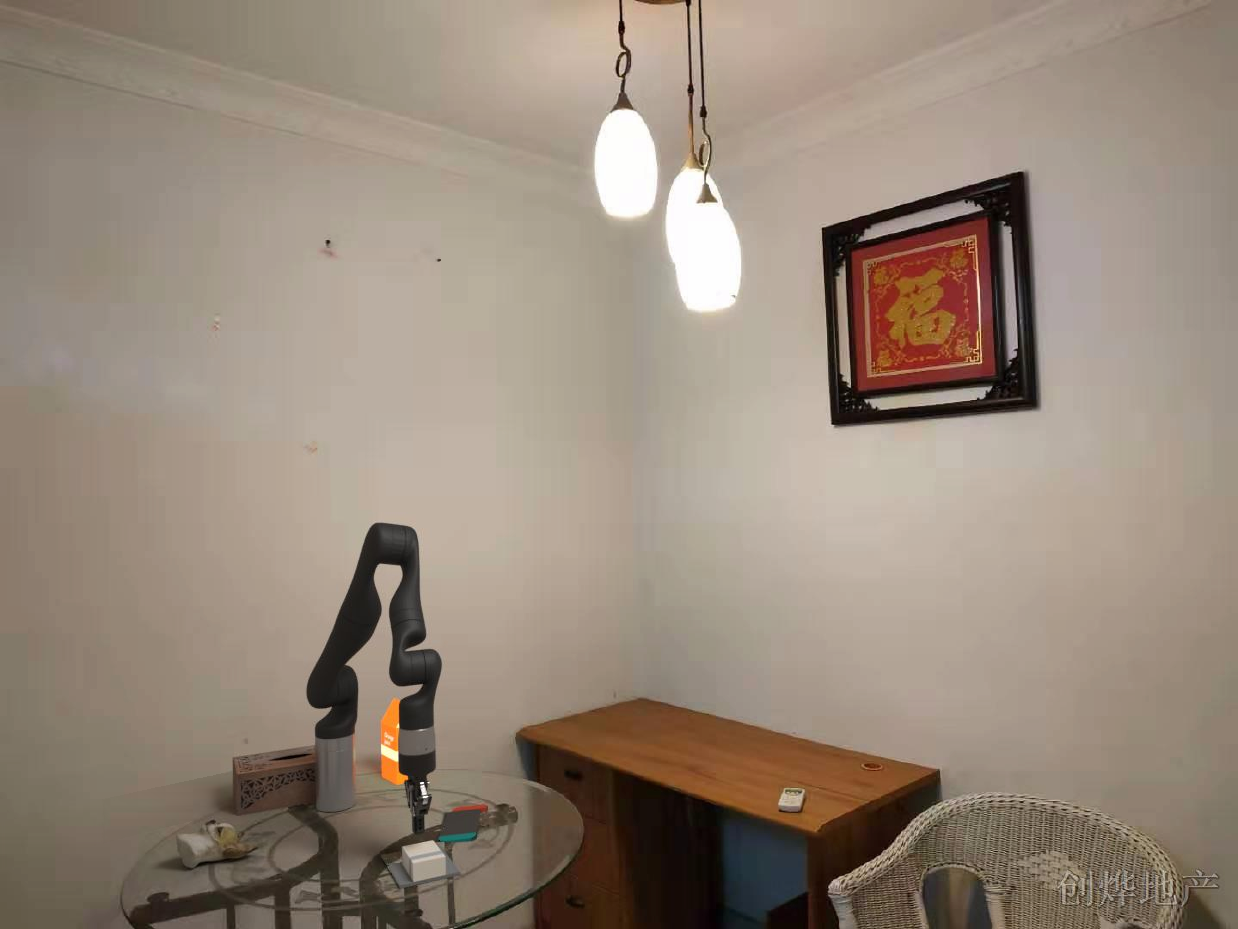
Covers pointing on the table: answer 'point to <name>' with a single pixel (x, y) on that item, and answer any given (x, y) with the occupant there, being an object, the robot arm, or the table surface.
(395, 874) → the mat
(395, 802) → the table surface
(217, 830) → the ceramic sculpture
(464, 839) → the gaming console
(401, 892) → the table surface
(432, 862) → the card box
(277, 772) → the tissue box cover
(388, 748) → the orange juice
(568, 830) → the table surface
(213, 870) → the table surface
